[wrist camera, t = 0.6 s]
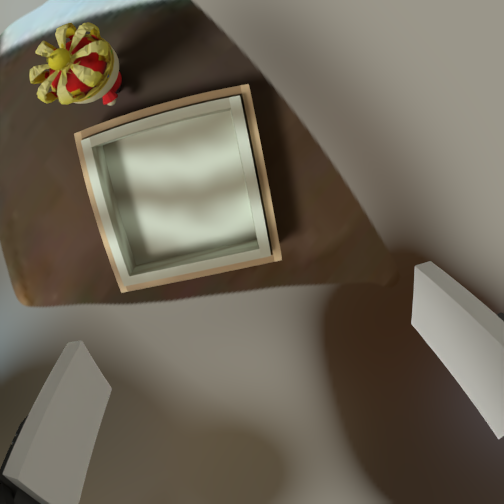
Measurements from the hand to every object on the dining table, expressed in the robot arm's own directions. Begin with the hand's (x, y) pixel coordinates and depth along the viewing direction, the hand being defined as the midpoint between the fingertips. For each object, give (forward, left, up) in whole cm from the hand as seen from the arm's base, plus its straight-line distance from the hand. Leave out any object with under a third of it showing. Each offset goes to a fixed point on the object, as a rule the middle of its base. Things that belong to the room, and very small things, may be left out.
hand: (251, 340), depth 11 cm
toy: (-17, -10, -25) cm, 32 cm away
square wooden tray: (-3, -5, -25) cm, 25 cm away
